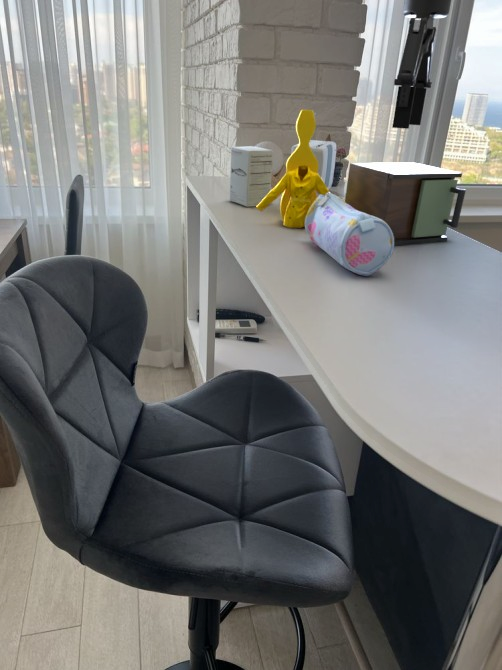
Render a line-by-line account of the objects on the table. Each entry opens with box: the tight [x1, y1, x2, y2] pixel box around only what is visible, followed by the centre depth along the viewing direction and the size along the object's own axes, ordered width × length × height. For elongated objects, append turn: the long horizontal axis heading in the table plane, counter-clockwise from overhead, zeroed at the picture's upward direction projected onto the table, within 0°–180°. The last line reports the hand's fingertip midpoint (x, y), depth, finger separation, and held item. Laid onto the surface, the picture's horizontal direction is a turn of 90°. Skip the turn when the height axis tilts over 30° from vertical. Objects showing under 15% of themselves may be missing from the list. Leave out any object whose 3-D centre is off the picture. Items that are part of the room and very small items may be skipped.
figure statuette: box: [255, 109, 331, 229], centre depth 101 cm, size 18×8×22 cm, turn 89°
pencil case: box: [304, 191, 395, 276], centre depth 84 cm, size 21×9×10 cm, turn 11°
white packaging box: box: [228, 145, 274, 208], centre depth 120 cm, size 7×7×13 cm
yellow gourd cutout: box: [290, 112, 337, 198], centre depth 131 cm, size 21×8×20 cm, turn 162°
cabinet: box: [344, 162, 463, 247], centre depth 99 cm, size 14×16×13 cm
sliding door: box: [411, 178, 467, 237], centre depth 95 cm, size 4×8×11 cm, turn 114°
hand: (407, 126), depth 94 cm, fingers open, 13 cm apart
